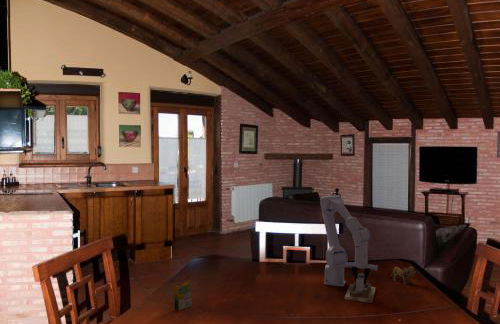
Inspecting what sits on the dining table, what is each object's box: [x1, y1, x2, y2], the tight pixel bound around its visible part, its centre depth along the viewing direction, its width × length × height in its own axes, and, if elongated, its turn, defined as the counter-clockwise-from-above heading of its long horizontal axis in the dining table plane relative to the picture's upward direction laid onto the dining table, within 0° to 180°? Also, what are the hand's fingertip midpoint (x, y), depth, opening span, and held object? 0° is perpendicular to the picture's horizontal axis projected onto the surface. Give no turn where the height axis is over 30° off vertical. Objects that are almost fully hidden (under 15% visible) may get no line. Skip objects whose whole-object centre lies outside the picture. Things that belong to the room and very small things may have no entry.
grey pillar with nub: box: [355, 272, 365, 292], centre depth 196 cm, size 3×10×6 cm, turn 159°
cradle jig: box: [344, 281, 377, 304], centre depth 197 cm, size 12×18×3 cm, turn 159°
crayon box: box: [173, 279, 192, 312], centre depth 180 cm, size 7×3×12 cm, turn 141°
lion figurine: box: [388, 266, 417, 285], centre depth 215 cm, size 15×5×9 cm, turn 37°
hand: (360, 283), depth 197 cm, fingers closed on grey pillar with nub, 3 cm apart
